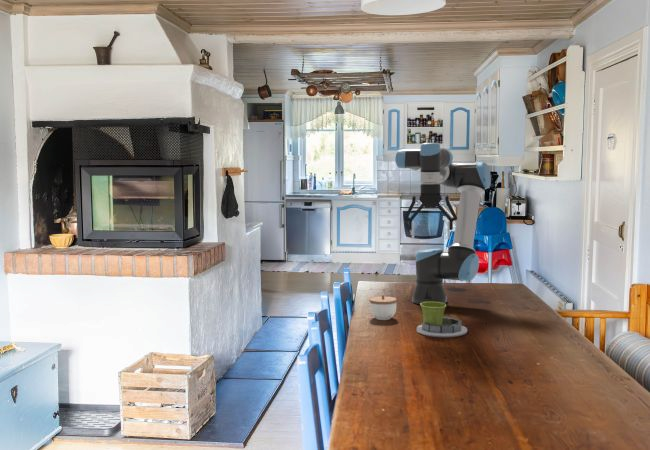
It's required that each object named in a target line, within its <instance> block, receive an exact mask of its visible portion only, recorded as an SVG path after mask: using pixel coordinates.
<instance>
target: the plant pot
mask: <svg viewBox="0 0 650 450" xmlns="http://www.w3.org/2000/svg"><path fill="white" fill-rule="evenodd" d="M419 306H420V308H421V310H422V311H421V312H422V321H423V320H424V323H425V322H426V323H429V324H432V325H442V320H443V317H444V313H445V311H446V307H447V303H441V302H423V303H420V304H419Z"/></svg>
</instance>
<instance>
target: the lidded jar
mask: <svg viewBox="0 0 650 450" xmlns="http://www.w3.org/2000/svg"><path fill="white" fill-rule="evenodd" d="M397 301H398V300H397V298H396V297H394V296H393V297H392V296H385V294H381V296H373V297H370V298H369V300H368V302H369V308H370V313H371V314H372V316H373V317H374V318H375V319H376V320H377V321H378V320H380V321H388V320H391V319H392V317H393V316H394V315H395V314H396V311H397Z"/></svg>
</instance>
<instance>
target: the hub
mask: <svg viewBox="0 0 650 450" xmlns="http://www.w3.org/2000/svg"><path fill="white" fill-rule="evenodd" d="M416 332H417V333H418V334H420V335H423V336H425V337H433V338H456V337H462V336H464V335H467V333H468V327H466V326H464V325H462V320H461V319H458V318H454V317H447V316H443V320H442V325H432V324H429V323H426V322H425V323H424V320H423V319H422V322H421V324H419V325H417V327H416Z"/></svg>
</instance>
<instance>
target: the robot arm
mask: <svg viewBox="0 0 650 450" xmlns="http://www.w3.org/2000/svg"><path fill="white" fill-rule="evenodd" d="M394 158H395V165H396V166H397V168H399V169H410V170H413V171H415V172H417V173H419V174H420V183H421V184H420V195H419V196H416V195H413V196H412V199H411V203H410V205H409V207H408V209H407V212H406V213H405V216H404V218H403V219H404V221H406V222H408V230H409V231H411V239H412V240H414V239H415V221H413V220H414V219H415V217H416V216H417V215H418V214H419V213H420V212H422V211H421V210H422V209H423V208H426V209H428V208H429V209H430V208H431V209H435V208H437V209H439V211H440V212H441V213H442V214H443V216H444V217H445V218H446V219H447V220H448V221H447V240H450V238H451V237H450V235H451V234H450V233H451V232H450V231H452V230H453V228H454V232H453V233H454V235H453V241H452V244H451V245H449V246H448V250H447V252H444V249H443V248H439V247H438V248H429V249H423V250H419V251H417V252H416V254H415V256H416V257H415V287H414V291H413V294H412V296H411V302H412V303H413V304H418V305H420V303H423V302H441V303H444V304H447V302H448V296H447V294H446V291H445V290H446V289H445V286H444V280H448V281H449V280H450V281H460V282H465V281H466V282H467V281H468V282H469V281H472V280H473V279H475V277H476V276H477V274H478V271H479V268H480V267H479V266H480V257H479V255H478V254H477V253H476V252H477V251H476V249H475V248H474V244H475V243H474V242H475V235H476V228H477V222H478V214H479V208H480V201H481V197H482V196H483V195H484V194H485V191H486V189H490V188H491V185H492V183H491V182H492V176H491V171H490V167H489V165H488V163H486V162H484V161H464V162H463V161H460V162H459V161H454V162H453V158H454V156H453V154H452V151H451V150H449V149H447V148H444V147H442V148H441V143H439V142H424V143H421V144H420V148H419V149H418V148H416V149H415V148H414V149H413V148H411V149H410V148H409V149H406V148H404V149H398V150H397V151H396V153H395V157H394ZM441 186H444V187H447V188H452V189H457V191H458V192H459V193H460V197H459V203H458V209H457V214H456V212H455V209H454V208H453V207H452V204H451V201H450V199H449V195H445V196H441ZM442 200H443V202H445V204H446V206H447V208H448V210H449V212H450V214H451V215H452V216H451V215H450V214H449V213H448V212H447V210H445V208H444V207H443V206H442V205H441V204H440V203H441V201H442ZM417 202H420V203H421V204H420V206H419V207H418V208H417V210H415V211H414V213H413V214H412V215H411V213H412V211H413V209H414V206H415V205H416V203H417ZM410 215H411V216H410ZM409 216H410V217H409ZM454 221H455V227H453V226H454V225H453V223H454Z"/></svg>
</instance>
